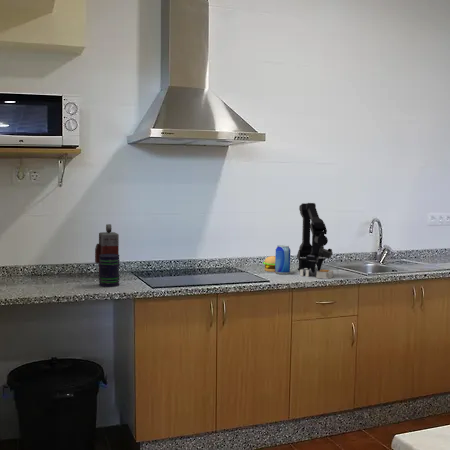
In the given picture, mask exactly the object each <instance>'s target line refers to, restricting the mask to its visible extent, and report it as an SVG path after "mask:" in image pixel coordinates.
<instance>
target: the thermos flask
mask: <svg viewBox="0 0 450 450" xmlns="http://www.w3.org/2000/svg"><path fill="white" fill-rule="evenodd" d="M119 243H120V241H119V233H118V232H114V231H112V224H111V223H110V224H109V223H107V224H106V225H105V231H103V232H98V243H96V245H95V248H94V263H95V264H99V258H100V257H99V255H101V254H118V255H119V256H120V254H119V249H120V248H119ZM99 274H100V267H99V266H98V275H99Z"/></svg>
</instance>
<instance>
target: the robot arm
mask: <svg viewBox="0 0 450 450" xmlns="http://www.w3.org/2000/svg"><path fill="white" fill-rule="evenodd" d="M298 210H299V214H300V216H301V218H302V236H301V237H302V238H301V240H302V241H301V244H300V246H299V249H298V251H297V254H296V259H297V260H298V268H297V270H299V271H300V270H301V269H304V268H308V269H311V271H312V273H314V272H315V270H321V269H322V265H323V262H324V261H325V260H327V259H330V258H331V257H332V256H333V255H334V254H333V249H332V248H327V249H326V248H325V246H326V245H327V244H328V241H329V239H328V238H327V236H325V235H327V232H328V230H327V226H326V223H325V222H324V221H323V219H322V218H320V216H319V213H318V210H317V208H316V203H315V202H306V203H304V202H303V203H301V204H300V205H299V208H298Z"/></svg>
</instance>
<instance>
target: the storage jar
mask: <svg viewBox="0 0 450 450" xmlns="http://www.w3.org/2000/svg"><path fill="white" fill-rule="evenodd" d="M99 257H100V258H99V263H98V268H99V267H100V274H99V273H98V281H99V282H98V283H99V285H98V286H99V287H102V288H116V287H119V286H120V272H119V271H120V269H119V268H120V254H119V255H118V254H101V255H99Z"/></svg>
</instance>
